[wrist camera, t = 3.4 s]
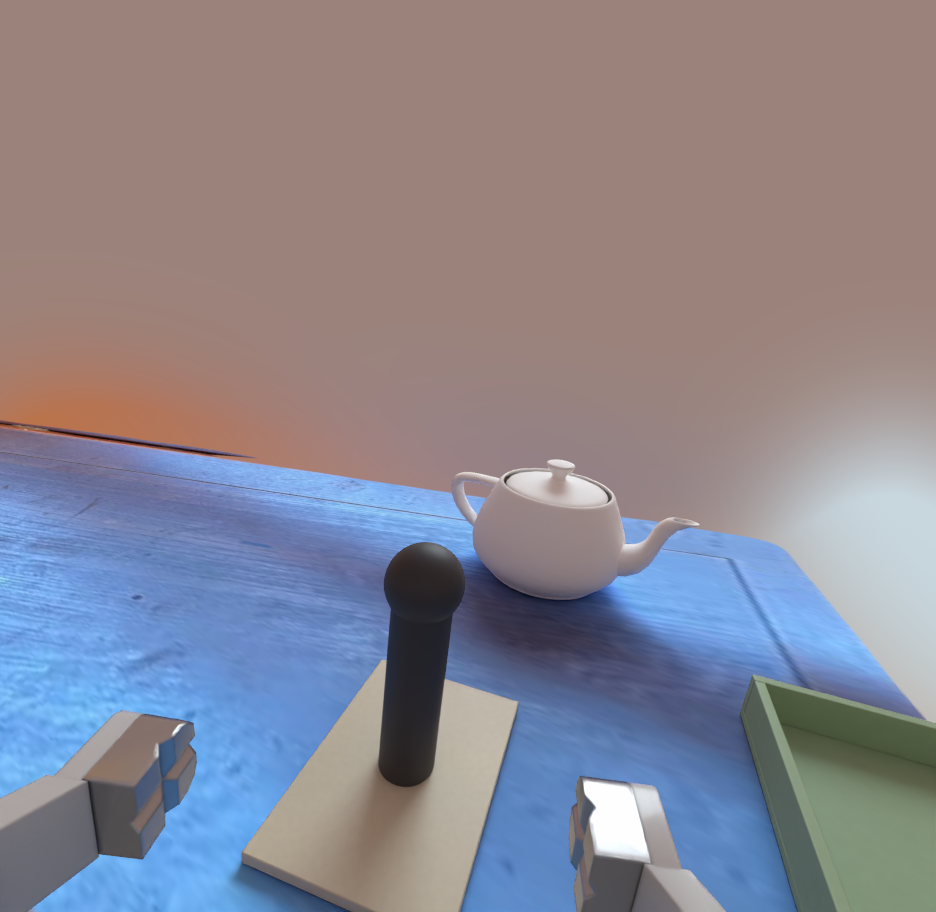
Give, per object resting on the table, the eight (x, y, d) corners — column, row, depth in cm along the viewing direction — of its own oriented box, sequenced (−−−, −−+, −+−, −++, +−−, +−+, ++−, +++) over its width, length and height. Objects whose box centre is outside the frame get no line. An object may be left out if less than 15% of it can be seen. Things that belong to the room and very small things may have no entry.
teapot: (408, 565, 46) (418, 450, 43) (477, 518, 58) (489, 425, 55) (664, 663, 37) (700, 525, 34) (683, 584, 49) (712, 476, 46)
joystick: (447, 956, 19) (491, 669, 15) (241, 863, 21) (237, 593, 18) (517, 709, 31) (550, 516, 27) (381, 666, 33) (395, 482, 30)
